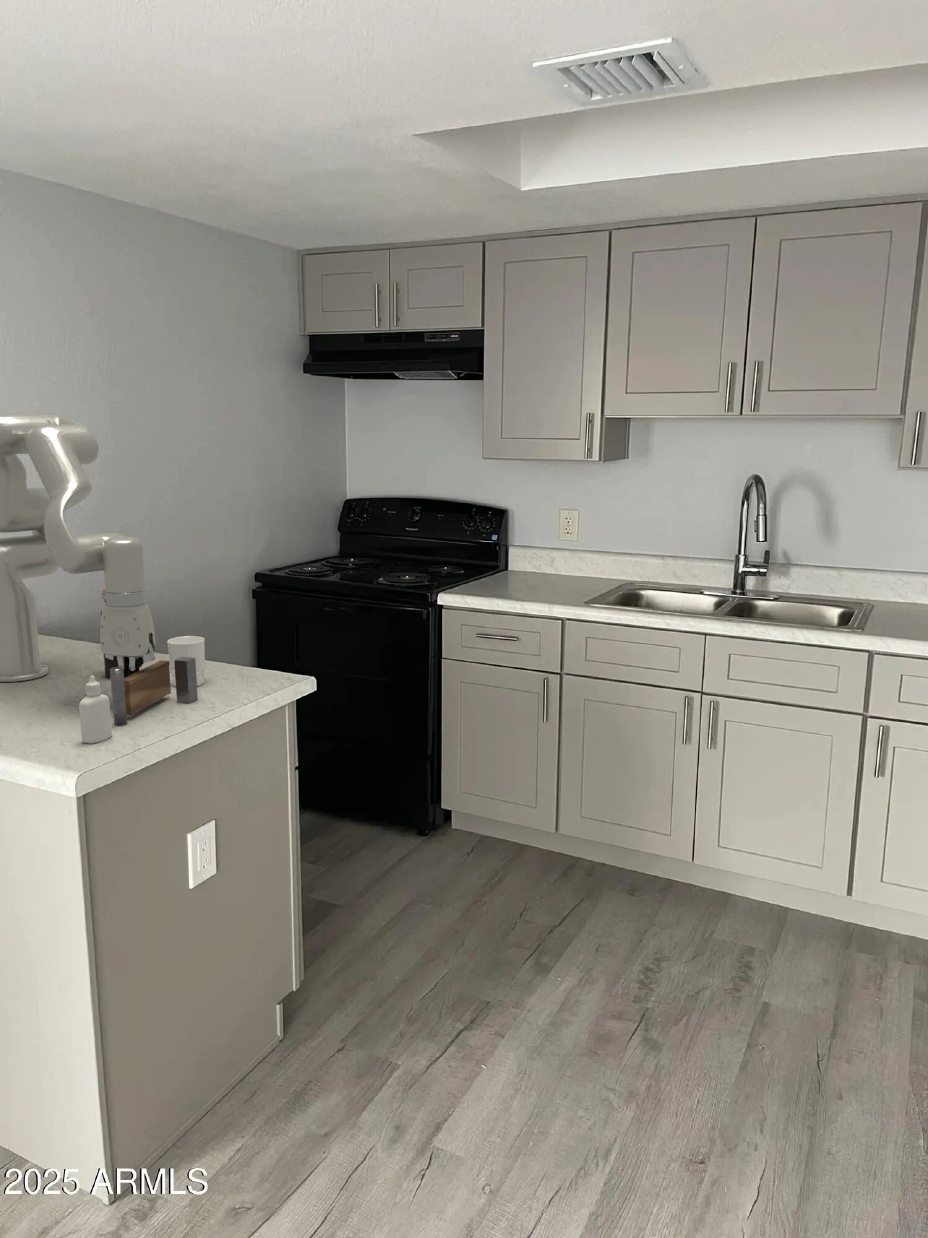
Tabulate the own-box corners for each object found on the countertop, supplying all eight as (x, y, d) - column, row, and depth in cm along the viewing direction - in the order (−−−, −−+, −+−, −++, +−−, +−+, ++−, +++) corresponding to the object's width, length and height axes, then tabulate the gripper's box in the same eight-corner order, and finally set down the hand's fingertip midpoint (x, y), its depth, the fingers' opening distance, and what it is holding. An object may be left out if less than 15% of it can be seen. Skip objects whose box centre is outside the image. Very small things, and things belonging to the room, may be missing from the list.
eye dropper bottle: (78, 739, 177) (73, 676, 175) (109, 733, 180) (104, 671, 178) (84, 745, 174) (78, 681, 171) (116, 739, 177) (111, 676, 174)
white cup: (196, 689, 210) (194, 644, 208) (163, 687, 211) (160, 643, 209) (213, 680, 217) (210, 636, 215) (180, 678, 219) (178, 635, 217)
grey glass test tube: (111, 725, 185) (107, 669, 183) (119, 721, 187) (115, 666, 185) (121, 726, 184) (117, 670, 182) (130, 722, 187) (125, 667, 184)
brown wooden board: (122, 714, 188) (119, 680, 187) (162, 692, 204) (160, 660, 202) (131, 715, 188) (129, 680, 186) (171, 693, 203) (169, 660, 202)
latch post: (176, 702, 200) (174, 660, 198) (185, 698, 203) (183, 656, 201) (189, 703, 199) (186, 661, 197) (197, 699, 202) (195, 657, 200)
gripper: (81, 600, 191) (88, 689, 195) (149, 604, 187) (154, 695, 191) (104, 594, 198) (110, 680, 202) (169, 597, 194) (174, 685, 198)
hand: (131, 687), depth 196 cm, fingers closed
